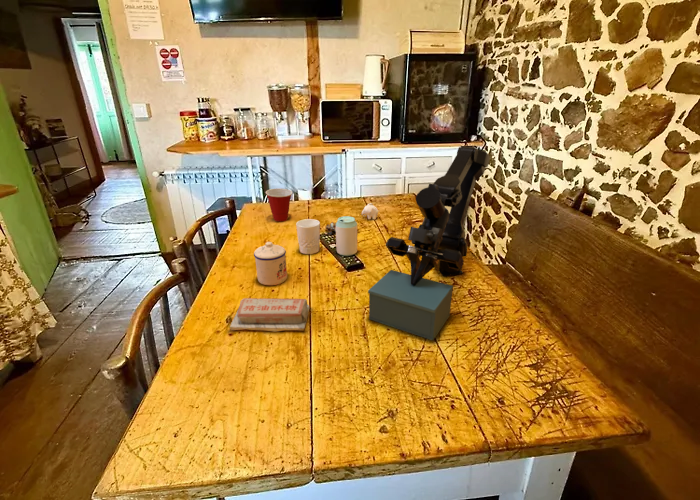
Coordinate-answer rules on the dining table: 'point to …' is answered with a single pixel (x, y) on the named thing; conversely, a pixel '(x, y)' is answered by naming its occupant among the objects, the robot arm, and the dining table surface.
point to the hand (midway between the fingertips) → (412, 284)
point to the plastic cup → (279, 203)
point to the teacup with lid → (271, 264)
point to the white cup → (308, 235)
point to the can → (346, 236)
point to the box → (409, 316)
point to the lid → (411, 291)
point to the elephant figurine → (370, 211)
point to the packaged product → (271, 314)
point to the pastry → (331, 228)
